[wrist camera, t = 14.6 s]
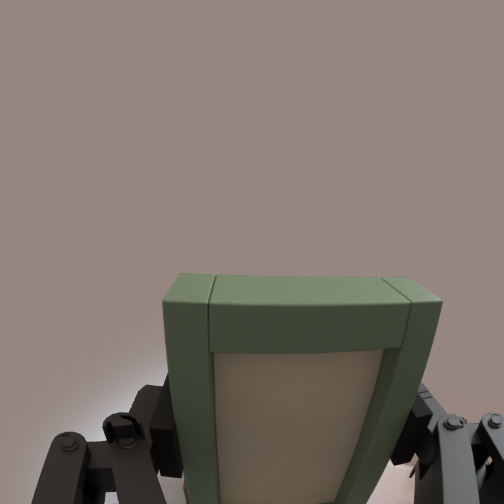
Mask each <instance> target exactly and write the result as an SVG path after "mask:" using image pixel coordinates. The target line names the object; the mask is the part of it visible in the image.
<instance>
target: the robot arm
mask: <svg viewBox="0 0 504 504" xmlns="http://www.w3.org/2000/svg"><path fill="white" fill-rule="evenodd" d="M103 430H104V433H105V436H106V439H107V440H106V441H100V442H86V440H85V438H84V437H83V436H82V435H80V434H79V433H76V432H64V433H61V434H59V435H57V436H56V437H55V438H54V439H53V441H52V443H51V446H50V449H49V451H48V454H47V457H46V460H45V463H44V466H43V468H42V472H41V474H40V478H39V481H38V484H37V487H36V490H35V494H34V497H33V500H32V503H31V504H104V502H105V494H106V492H117V497H118V501H119V504H167V503H166V501H165V498H164V495H163V492H162V489H161V486H160V484H159V481H158V477H157V474H158V470H159V471H160V474H161V476H165V477H173V478H181V477H182V472H183V466H182V461H181V455H180V450H179V444H178V438H177V431H176V425H175V419H174V413H173V405H172V398H171V390H170V382H169V373H168V374H167V376H166V379H165V382H164V385H163V386H153V385H145V386H144V387H143V388H142V389H141V390H139V391H138V393H137V395H136V397H135V401H134V402H133V404H132V407H131V409H130V411H129V413H123V412H120V413H116V414H112V415H110V416H109V417H107V418H106V419H105V421H104V422H103ZM415 453H416V455H417V456H418V458H419V459H418V461H417V463H416V465H415V466H414V468H413V470H412V471H411V473H410V476H409V478H412V476H413V474H414V473H415V494H414V504H504V417H503V416H501V415H499V414H496V413H488V414H485V415H484V416H483V417H482V419H481V421H480V423H465V421H464V420H463V419H462V418H461V417H459V416H456V415H452V414H447V413H446V412H445V411H444V409H443V408H442V407H441V406H440V404H439V403H438V402H437V401H436V399H435V398H434V397H433V396H432V395H431V393H430V392H429V391H428V389H427V388H426V387H425V386H424V384H422V383H420V386H419V389H418V392H417V394H416V397H415V400H414V403H413V405H412V408H411V411H410V413H409V416H408V418H407V421H406V423H405V426H404V428H403V430H402V433H401V435H400V437H399V440H398V442H397V444H396V446H395V449H394V451H393V453H392V455H391V457H390V459H391V461H392V463H393V465H394V466H396V465H400V464H404V463H408V462H410V461H411V459H412V458H413V456H414V454H415ZM490 456H491V458H492V460H493V461H492V462H491V464H490V463H489V462H488V458H489V457H490Z"/></svg>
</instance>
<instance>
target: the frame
mask: <svg viewBox="0 0 504 504" xmlns="http://www.w3.org/2000/svg"><path fill="white" fill-rule="evenodd" d="M442 302H443V301H442V300H441V299H440V298H438V297H437V296H435V295H434V294H432V293H431V292H429V291H428V290H426V289H424V288H423V287H421V286H420V285H418V284H417V283H415V282H414V281H412V280H410V279H409V278H407V277H381V278H379V277H301V276H251V275H249V276H248V275H216V276H215V275H214V274H187V273H181V274H179V276H178V277H177V279H176V280H175V282H174V283H173V285H172V287H171V288H170V290H169V291H168V293H167V294H166V296H165V297H164V299H163V301H162V305H163V319H164V332H165V344H166V354H167V364H168V373H169V382H170V390H171V398H172V405H173V413H174V419H175V425H176V431H177V438H178V444H179V450H180V455H181V461H182V466H183V472H184V478H185V483H186V487H187V492H188V497H189V501H190V504H366V503H367V501H368V500H369V498H370V496H371V494H372V492H373V491H374V489H375V487H376V485H377V483H378V481H379V479H380V477H381V475H382V474H383V472H384V470H385V468H386V466H387V463H388V461H389V459H390V457H391V455H392V453H393V451H394V449H395V446H396V444H397V442H398V440H399V437H400V435H401V433H402V430H403V428H404V426H405V423H406V421H407V418H408V416H409V413H410V411H411V408H412V405H413V403H414V400H415V397H416V394H417V392H418V389H419V386H420V383H421V380H422V377H423V374H424V370H425V368H426V364H427V361H428V358H429V354H430V351H431V347H432V344H433V340H434V336H435V333H436V328H437V325H438V321H439V316H440V312H441V308H442Z"/></svg>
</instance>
